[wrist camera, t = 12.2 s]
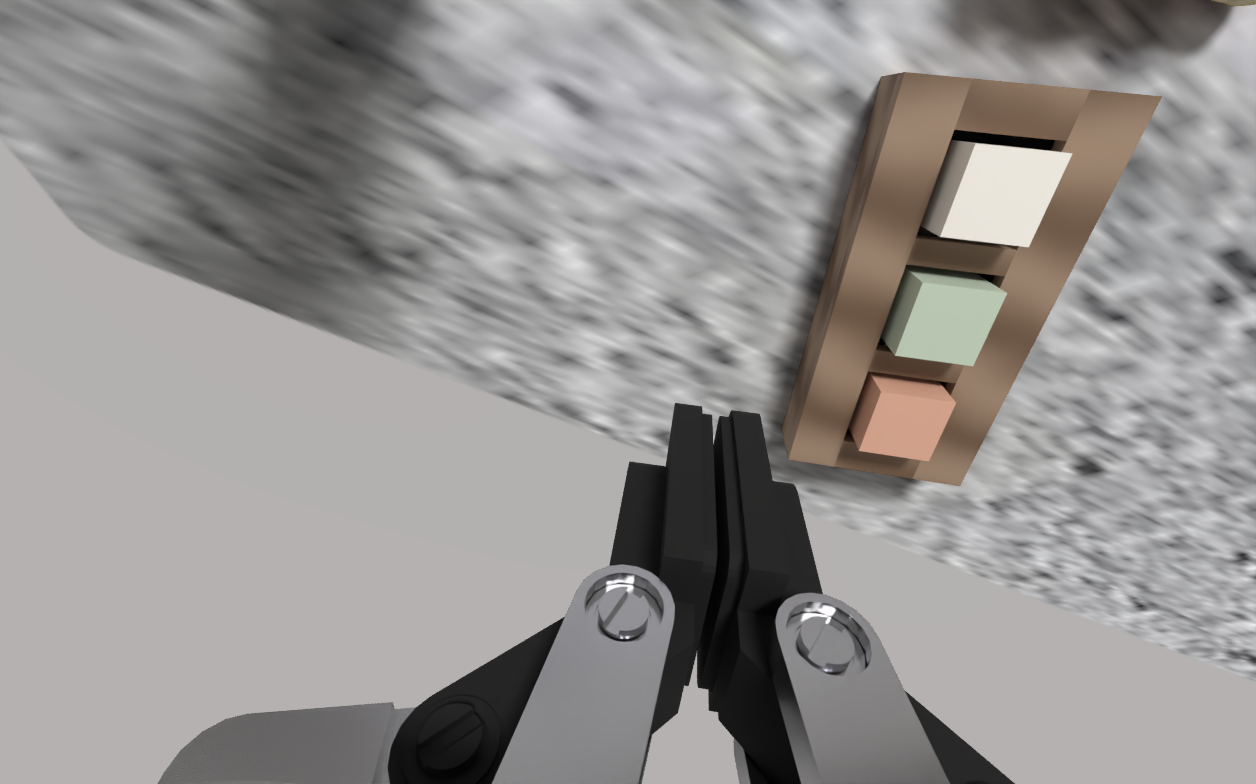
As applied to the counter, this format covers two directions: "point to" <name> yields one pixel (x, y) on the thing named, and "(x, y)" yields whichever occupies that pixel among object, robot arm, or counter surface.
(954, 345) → the sage key
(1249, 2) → the croissant
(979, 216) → the cream cube
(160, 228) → the counter surface
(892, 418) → the terracotta key
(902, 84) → the wooden compartment tray
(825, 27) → the counter surface
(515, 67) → the counter surface
